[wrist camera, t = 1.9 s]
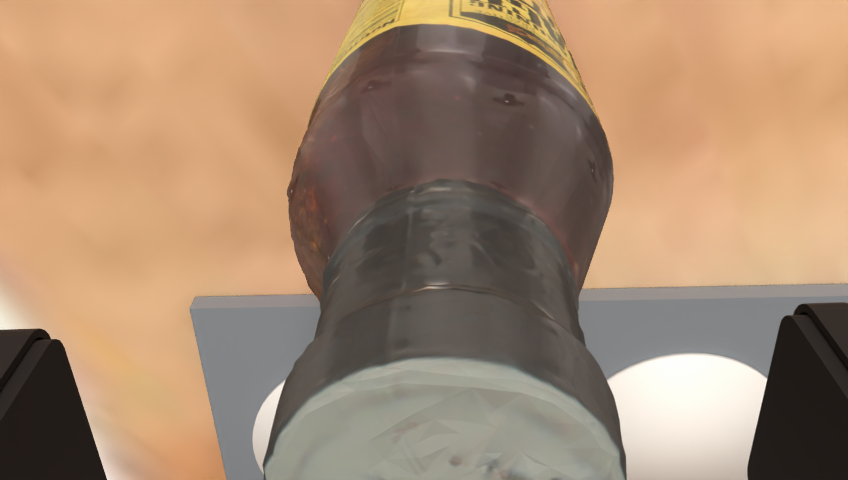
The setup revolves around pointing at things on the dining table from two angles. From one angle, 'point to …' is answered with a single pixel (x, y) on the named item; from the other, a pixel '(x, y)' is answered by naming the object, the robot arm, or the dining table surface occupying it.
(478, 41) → the sauce bottle
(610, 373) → the board
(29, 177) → the dining table surface
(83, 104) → the dining table surface
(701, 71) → the dining table surface
